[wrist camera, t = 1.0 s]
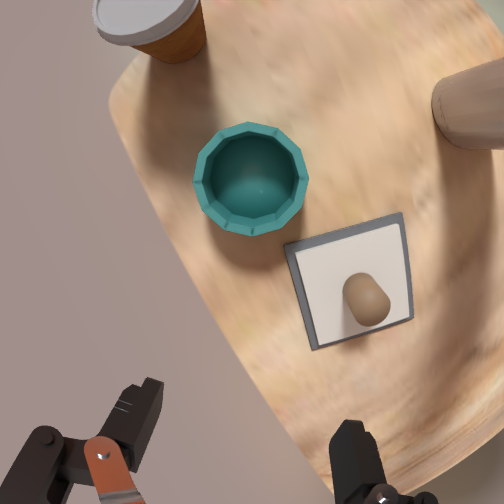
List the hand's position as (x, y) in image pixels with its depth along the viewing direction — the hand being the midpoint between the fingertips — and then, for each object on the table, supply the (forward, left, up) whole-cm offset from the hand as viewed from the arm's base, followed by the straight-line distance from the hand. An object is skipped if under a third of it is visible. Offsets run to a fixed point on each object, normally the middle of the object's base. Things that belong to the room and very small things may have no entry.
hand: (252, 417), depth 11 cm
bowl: (-2, -8, -23) cm, 24 cm away
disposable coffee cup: (+1, -26, -23) cm, 35 cm away
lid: (-10, +7, -22) cm, 25 cm away
